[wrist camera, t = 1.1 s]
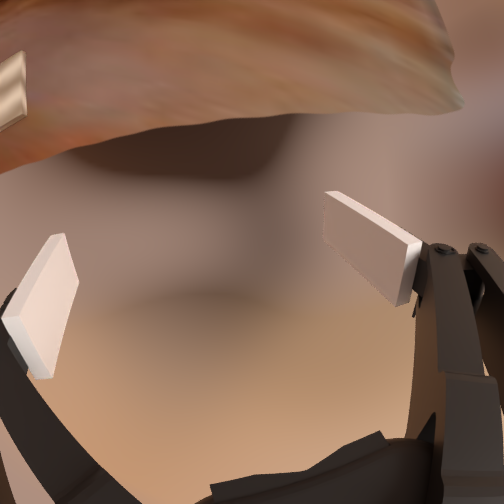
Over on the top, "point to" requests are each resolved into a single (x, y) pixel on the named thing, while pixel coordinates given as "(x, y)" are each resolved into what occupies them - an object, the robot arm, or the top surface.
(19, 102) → the plywood board
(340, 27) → the top surface
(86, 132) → the top surface
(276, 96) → the top surface
